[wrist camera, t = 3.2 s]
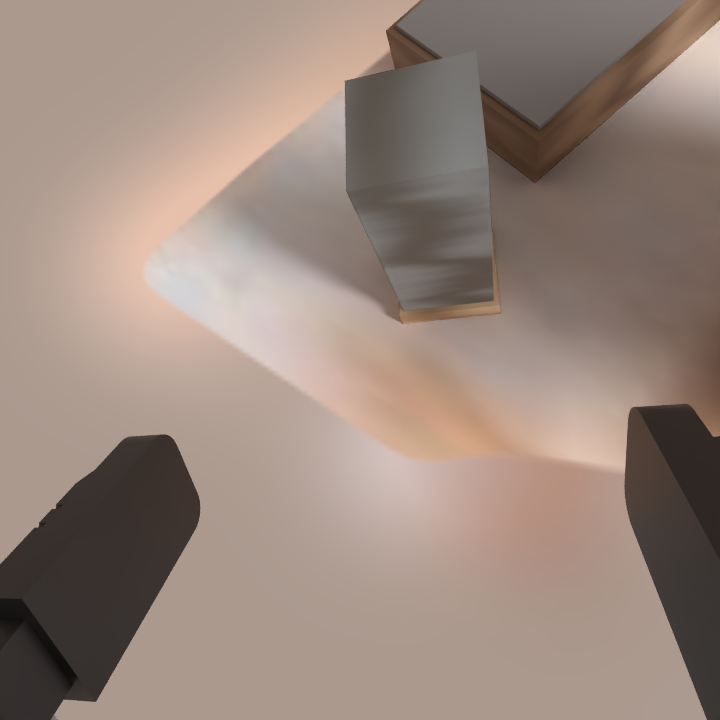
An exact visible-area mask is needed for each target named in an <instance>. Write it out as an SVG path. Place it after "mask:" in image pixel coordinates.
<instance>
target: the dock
mask: <svg viewBox="0 0 720 720" xmlns="http://www.w3.org/2000/svg"><path fill="white" fill-rule="evenodd" d="M719 20H720V0H420V1H419V2H418V3H417V4H416V5H415V6H414V7H412V8H411V9H410V10H409V11H408V12H407V13H406V14H404V16H402V17H401V18H400V19H399V20H398V21H397V22H395V23H394V24H393V25H392V26H391V27H390V28H389V29H388V30H386V33H387V37H388V41H389V45H390V50H391V54H392V58H393V62H394V66H395V69H399V68H403V67H407V66H412V65H416V64H420V63H425V62H429V61H433V60H437V59H442V58H446V57H450V56H455V55H459V54H463V53H468V52H472V51H476V55H477V64H478V73H479V82H480V92H481V101H482V110H483V119H484V128H485V138H486V146H488V147H489V148H490V149H492V150H493V151H494V152H496V153H497V154H498V155H499V156H501V157H502V158H503V159H505V160H506V161H507V162H509V163H510V164H511V165H512V166H514V167H515V168H516V169H518V170H519V171H520V172H522V173H523V174H524V175H526V176H527V177H528V178H529V179H531V180H532V181H533V182H537V181H538V180H539V179H540V178H541V177H542V176H543V175H544V174H546V173H547V172H548V171H549V170H550V169H551V168H552V167H554V166H555V165H556V164H557V163H558V162H559V161H560V160H561V159H563V158H564V157H565V156H566V155H567V154H568V153H569V152H571V151H572V150H573V149H574V148H575V147H576V146H577V145H579V144H580V143H581V142H582V141H583V140H584V139H585V138H586V137H588V136H589V135H590V134H591V133H592V132H593V131H594V130H596V129H597V128H598V127H599V126H600V125H601V124H602V123H603V122H605V121H606V120H607V119H608V118H609V117H610V116H611V115H613V114H614V113H615V112H616V111H617V110H618V109H619V108H620V107H622V106H623V105H624V104H625V103H626V102H627V101H628V100H630V99H631V98H632V97H633V96H634V95H635V94H636V93H637V92H639V91H640V90H641V89H642V88H643V87H644V86H645V85H647V84H648V83H649V82H650V81H651V80H652V79H653V78H654V77H656V76H657V75H658V74H659V73H660V72H661V71H662V70H664V69H665V68H666V67H667V66H668V65H669V64H670V63H671V62H673V61H674V60H675V59H676V58H677V57H678V56H679V55H681V54H682V53H683V52H684V51H685V50H686V49H687V48H688V47H690V46H691V45H692V44H693V43H694V42H695V41H696V40H698V39H699V38H700V37H701V36H702V35H703V34H704V33H705V32H707V31H708V30H709V29H710V28H711V27H712V26H713V25H715V24H716V23H717V22H718V21H719Z"/></svg>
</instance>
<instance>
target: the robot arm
mask: <svg viewBox="0 0 720 720" xmlns="http://www.w3.org/2000/svg"><path fill="white" fill-rule="evenodd" d="M625 498H626V505H627V511H628V515H629V519H630V522H631V525H632V528H633V530H634V533H635V536H636V538H637V541H638V543H639V546H640V548H641V551H642V554H643V556H644V559H645V561H646V564H647V566H648V569H649V572H650V574H651V577H652V579H653V582H654V585H655V587H656V590H657V592H658V594H659V597H660V600H661V603H662V605H663V607H664V610H665V613H666V615H667V618H668V621H669V623H670V626H671V628H672V631H673V633H674V636H675V638H676V641H677V643H678V646H679V649H680V651H681V654H682V657H683V659H684V661H685V664H686V667H687V669H688V672H689V675H690V677H691V679H692V682H693V685H694V687H695V690H696V693H697V695H698V698H699V700H700V703H701V705H702V708H703V710H704V713H705V716H706V718H707V720H720V436H719V437H713V436H712V435H711V433H710V432H709V430H708V429H707V428H706V426H705V425H704V423H703V422H702V421H701V419H700V418H699V416H698V415H697V414H696V412H695V411H694V409H693V408H692V407H691V406H690V405H688V404H678V405H662V406H645V407H633V408H631V410H630V413H629V418H628V433H627V450H626V468H625ZM199 516H200V500H199V496H198V493H197V491H196V489H195V486H194V484H193V482H192V479H191V477H190V475H189V472H188V470H187V468H186V466H185V463H184V461H183V458H182V456H181V454H180V451H179V449H178V447H177V445H176V443H175V441H174V440H173V439H172V438H171V437H170V436H168V435H149V436H133V437H127V438H125V439H124V440H122V441H121V442H120V443H119V444H118V446H117V447H116V448H115V449H114V450H113V451H112V452H111V453H110V454H109V455H108V456H107V458H106V459H105V460H104V461H103V462H102V463H101V464H100V465H99V466H98V467H97V468H96V469H95V470H94V471H93V472H91V473H90V474H88V475H87V476H86V477H84V478H83V479H81V480H80V481H79V482H77V483H76V484H75V485H74V486H73V487H72V488H71V489H70V490H69V491H68V493H67V494H66V495H65V496H64V497H63V498H62V499H61V500H60V501H59V502H58V503H57V504H56V509H52V510H51V511H50V512H49V513H48V514H47V515H46V516H45V517H44V518H43V519H42V520H41V521H40V523H39V527H38V528H34V529H33V530H32V531H31V532H30V533H29V534H28V535H27V537H25V538H24V540H23V541H22V542H21V543H20V544H19V545H18V546H17V547H16V548H15V549H14V550H13V552H11V554H10V555H9V556H8V557H7V558H6V559H5V560H4V561H3V562H2V563H1V564H0V720H58V719H57V718H56V717H55V716H54V714H55V712H56V711H57V709H58V707H59V706H60V704H61V703H62V701H63V699H65V700H78V701H91V702H96V701H97V699H98V697H99V695H100V694H101V692H102V690H103V689H104V687H105V685H106V683H107V682H108V680H109V678H110V676H111V674H112V673H113V671H114V669H115V668H116V666H117V664H118V663H119V661H120V659H121V657H122V655H123V654H124V652H125V650H126V649H127V647H128V645H129V644H130V642H131V640H132V638H133V637H134V635H135V633H136V631H137V630H138V628H139V626H140V624H141V623H142V621H143V619H144V617H145V616H146V614H147V612H148V610H149V609H150V607H151V605H152V604H153V602H154V600H155V598H156V597H157V595H158V593H159V591H160V590H161V588H162V586H163V585H164V583H165V581H166V579H167V578H168V576H169V574H170V572H171V571H172V569H173V567H174V566H175V564H176V562H177V560H178V558H179V557H180V555H181V553H182V552H183V550H184V548H185V547H186V545H187V543H188V541H189V540H190V538H191V536H192V534H193V533H194V531H195V529H196V527H197V524H198V521H199Z"/></svg>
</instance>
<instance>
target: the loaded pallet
mask: <svg viewBox="0 0 720 720" xmlns="http://www.w3.org/2000/svg"><path fill="white" fill-rule="evenodd" d="M345 118H346V191H347V194H348V196H349V198H350V200H351V202H352V204H353V206H354V208H355V210H356V212H357V214H358V216H359V218H360V221H361V223H362V225H363V227H364V229H365V231H366V233H367V235H368V237H369V239H370V241H371V243H372V245H373V247H374V250H375V252H376V254H377V256H378V258H379V260H380V262H381V264H382V266H383V268H384V270H385V272H386V274H387V276H388V279H389V281H390V283H391V285H392V287H393V289H394V291H395V293H396V295H397V297H398V299H399V317H400V319H401V321H402V323H403V324H406V323H416V322H425V321H434V320H443V319H452V318H461V317H470V316H479V315H488V314H497V313H500V298H499V289H498V280H497V270H496V261H495V251H494V242H493V233H492V223H491V213H490V189H489V165H488V156H487V147H486V138H485V128H484V119H483V110H482V101H481V92H480V82H479V73H478V64H477V55H476V51H472V52H468V53H463V54H459V55H455V56H450V57H446V58H442V59H437V60H433V61H429V62H425V63H420V64H416V65H412V66H407V67H403V68H399V69H394V70H390V71H386V72H381V73H377V74H373V75H368V76H364V77H360V78H355V79H351V80H347V81H345Z"/></svg>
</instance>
